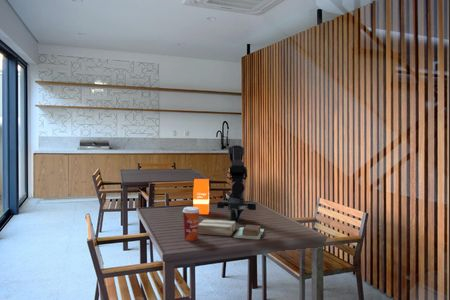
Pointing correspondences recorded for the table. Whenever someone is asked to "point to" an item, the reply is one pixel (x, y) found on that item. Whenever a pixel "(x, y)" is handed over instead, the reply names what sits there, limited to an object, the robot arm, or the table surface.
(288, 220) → the table surface
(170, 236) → the table surface
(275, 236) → the table surface
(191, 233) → the paper cup
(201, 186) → the orange juice
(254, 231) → the walnut block
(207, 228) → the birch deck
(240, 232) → the sage mat
